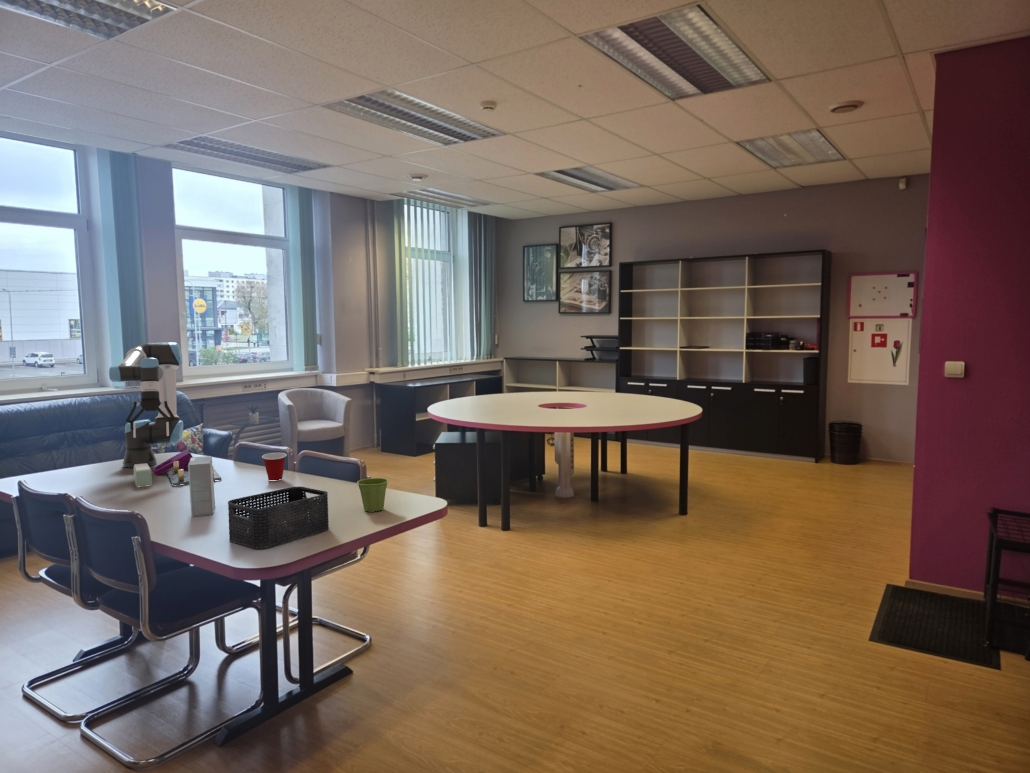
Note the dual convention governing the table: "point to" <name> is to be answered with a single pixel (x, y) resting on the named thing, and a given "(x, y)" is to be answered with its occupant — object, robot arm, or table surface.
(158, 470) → the mounting bracket
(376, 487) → the plant pot
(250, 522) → the storage bin
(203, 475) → the hard drive box
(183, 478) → the chassis plate
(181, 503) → the table surface
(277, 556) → the table surface
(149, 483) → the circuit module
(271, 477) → the plastic cup
